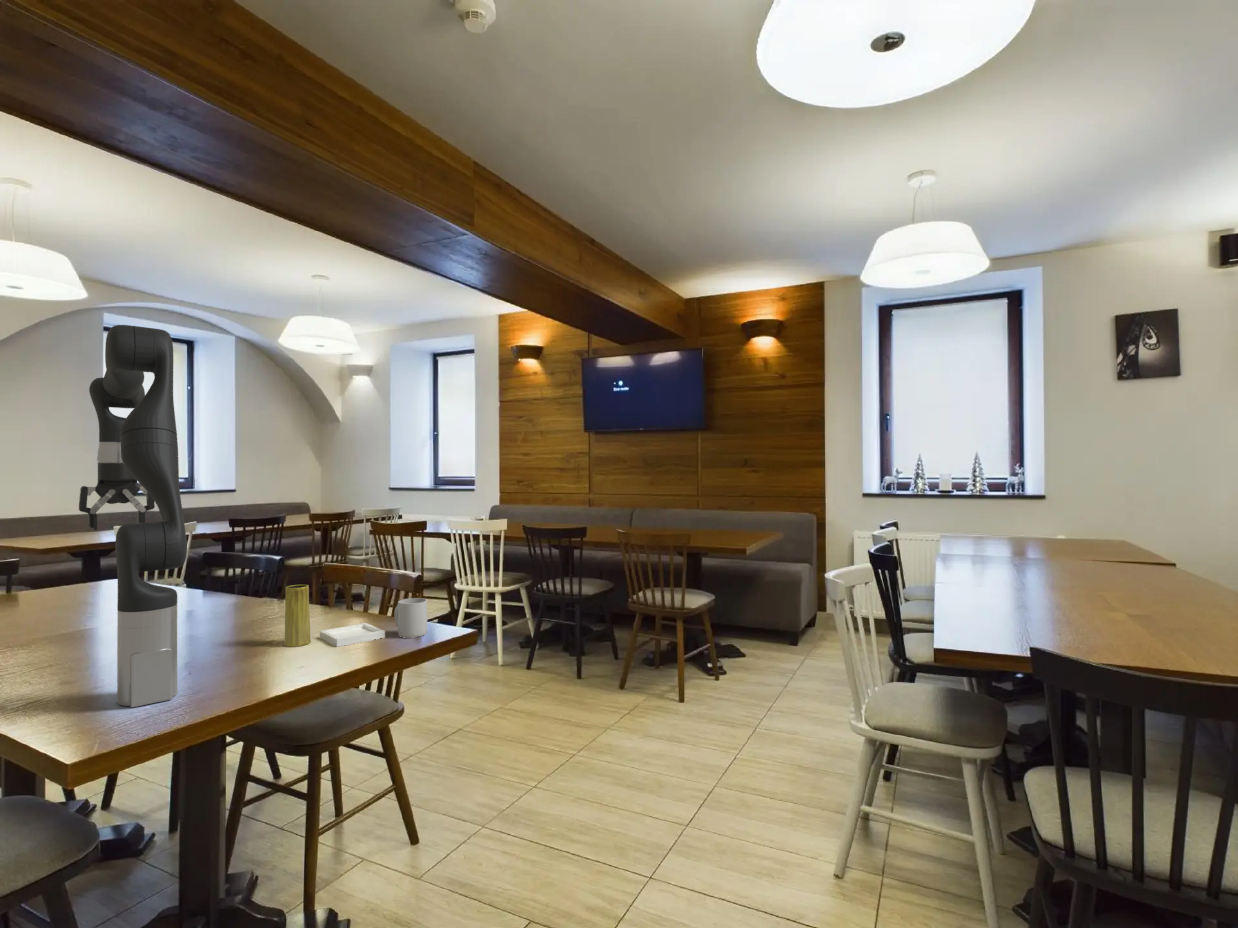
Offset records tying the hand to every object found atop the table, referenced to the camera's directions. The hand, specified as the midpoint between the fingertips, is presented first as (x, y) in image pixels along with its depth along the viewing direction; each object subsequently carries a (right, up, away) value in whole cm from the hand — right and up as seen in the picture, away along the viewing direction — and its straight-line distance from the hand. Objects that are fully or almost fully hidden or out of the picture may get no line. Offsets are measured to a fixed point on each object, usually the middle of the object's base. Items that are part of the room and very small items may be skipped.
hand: (117, 528), depth 155 cm
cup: (+66, -29, +14) cm, 73 cm away
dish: (+52, -29, +11) cm, 61 cm away
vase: (+41, -29, +5) cm, 50 cm away
